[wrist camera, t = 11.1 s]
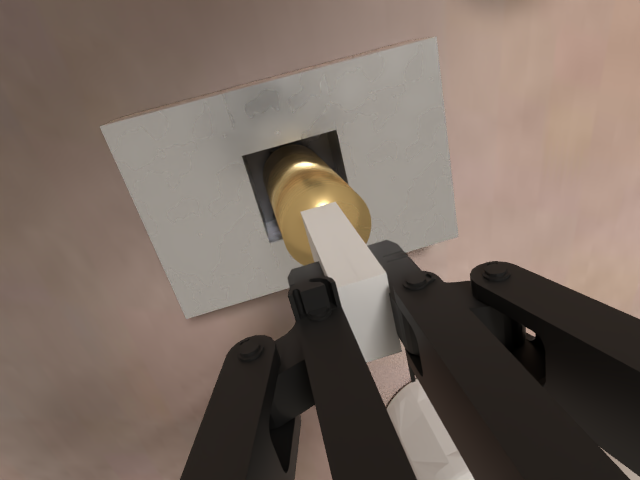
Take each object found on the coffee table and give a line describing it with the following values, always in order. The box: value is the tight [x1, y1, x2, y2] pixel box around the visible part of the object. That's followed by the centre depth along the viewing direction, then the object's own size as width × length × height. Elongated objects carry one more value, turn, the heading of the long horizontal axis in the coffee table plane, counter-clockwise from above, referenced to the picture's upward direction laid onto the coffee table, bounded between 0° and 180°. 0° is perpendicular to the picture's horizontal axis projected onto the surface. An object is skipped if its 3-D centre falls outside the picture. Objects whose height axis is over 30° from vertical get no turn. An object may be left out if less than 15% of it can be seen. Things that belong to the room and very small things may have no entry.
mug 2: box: [387, 379, 474, 480], centre depth 34 cm, size 14×11×10 cm
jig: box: [100, 37, 458, 319], centre depth 26 cm, size 12×18×4 cm, turn 103°
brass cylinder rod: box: [263, 144, 371, 265], centre depth 23 cm, size 4×4×10 cm
